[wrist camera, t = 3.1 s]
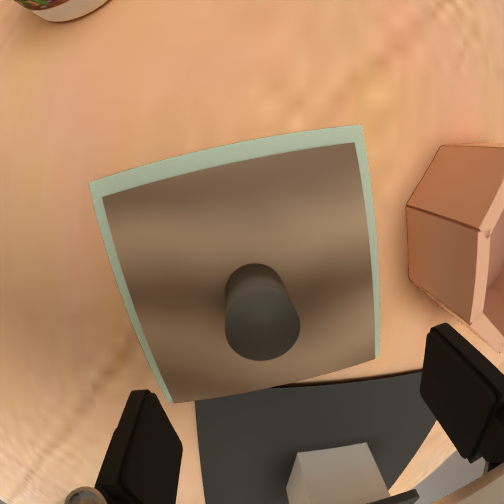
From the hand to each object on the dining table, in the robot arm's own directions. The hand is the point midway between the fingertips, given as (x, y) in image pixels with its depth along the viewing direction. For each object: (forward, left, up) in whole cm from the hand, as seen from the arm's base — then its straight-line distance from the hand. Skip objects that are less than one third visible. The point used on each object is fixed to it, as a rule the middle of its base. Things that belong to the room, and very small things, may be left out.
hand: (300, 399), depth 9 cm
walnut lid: (0, -1, -9) cm, 9 cm away
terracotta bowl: (0, +16, -10) cm, 19 cm away
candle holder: (+22, +2, -10) cm, 24 cm away
